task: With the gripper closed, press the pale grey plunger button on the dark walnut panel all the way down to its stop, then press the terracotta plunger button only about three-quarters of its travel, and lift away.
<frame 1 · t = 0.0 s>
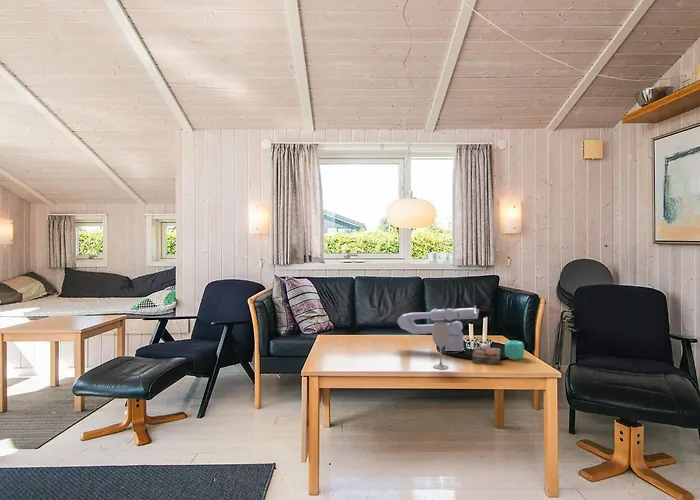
hand: (493, 312, 236), 22 cm above the table, tool horizontal, fingers open, 7 cm apart
terracotta button: (490, 352, 222), point 4 cm above the table, slide at 0.0 cm
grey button: (485, 347, 233), point 4 cm above the table, slide at 0.0 cm
button panel: (486, 358, 227), on the table
wineglass: (440, 367, 212), on the table
decorative dice: (514, 358, 227), on the table
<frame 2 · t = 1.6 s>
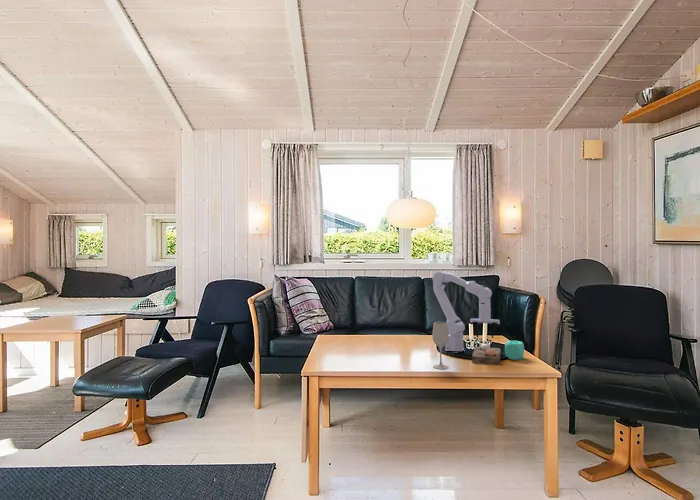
hand: (484, 337, 233), 9 cm above the table, tool pointing down, fingers open, 7 cm apart
nothing on the table moved.
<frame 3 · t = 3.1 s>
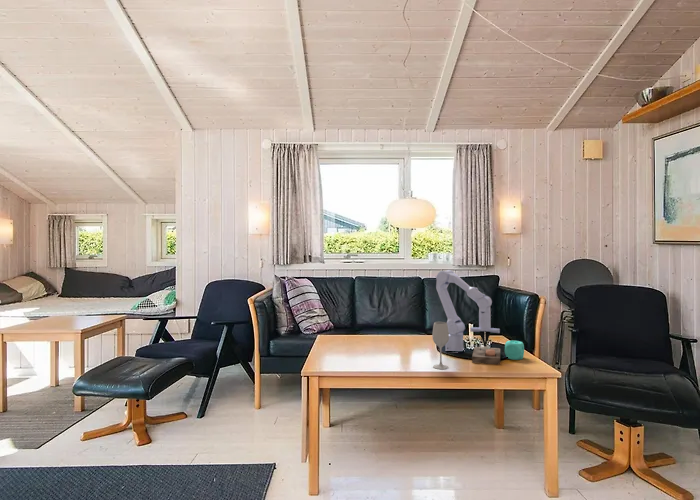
hand: (485, 346, 233), 5 cm above the table, tool pointing down, fingers closed, pressing on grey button
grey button: (485, 348, 233), point 3 cm above the table, slide at 0.6 cm, touching gripper
everything else where it was.
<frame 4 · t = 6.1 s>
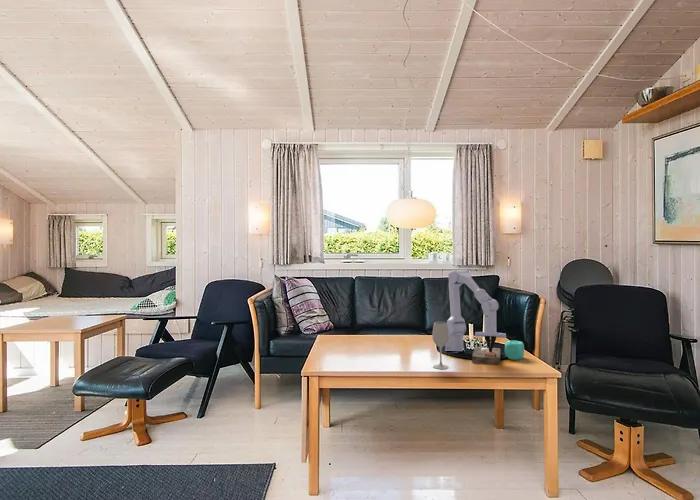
hand: (490, 351, 222), 5 cm above the table, tool pointing down, fingers closed, pressing on terracotta button
terracotta button: (490, 354, 222), point 3 cm above the table, slide at 0.7 cm, touching gripper
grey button: (485, 351, 233), point 2 cm above the table, slide at 2.1 cm
everything else where it was.
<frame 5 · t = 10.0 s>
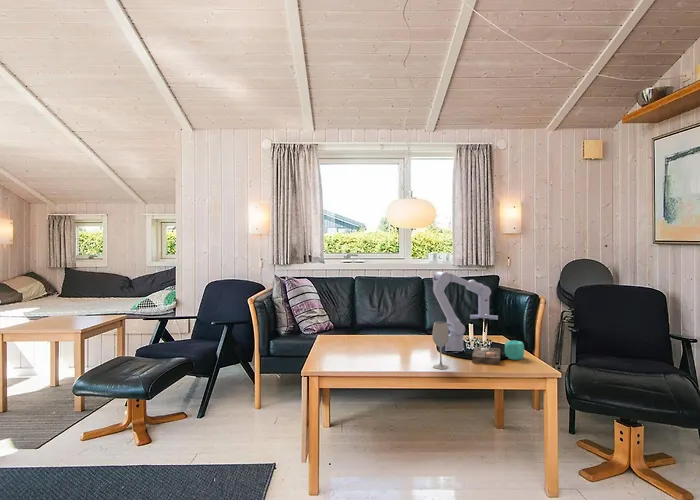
hand: (483, 332, 246), 9 cm above the table, tool pointing down, fingers closed
terracotta button: (490, 355, 222), point 3 cm above the table, slide at 1.4 cm
everything else where it was.
at the end: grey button slide at 2.1 cm; terracotta button slide at 1.4 cm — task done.
